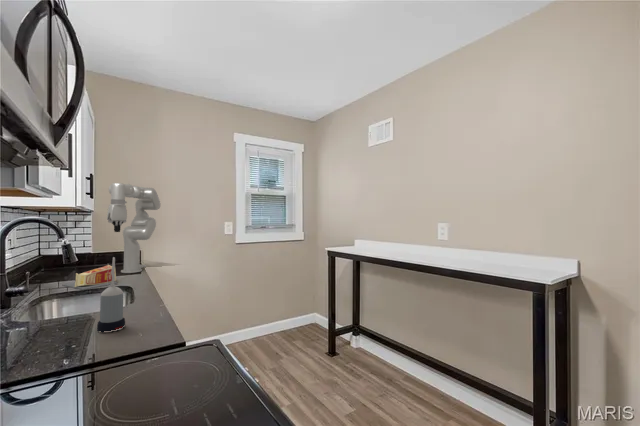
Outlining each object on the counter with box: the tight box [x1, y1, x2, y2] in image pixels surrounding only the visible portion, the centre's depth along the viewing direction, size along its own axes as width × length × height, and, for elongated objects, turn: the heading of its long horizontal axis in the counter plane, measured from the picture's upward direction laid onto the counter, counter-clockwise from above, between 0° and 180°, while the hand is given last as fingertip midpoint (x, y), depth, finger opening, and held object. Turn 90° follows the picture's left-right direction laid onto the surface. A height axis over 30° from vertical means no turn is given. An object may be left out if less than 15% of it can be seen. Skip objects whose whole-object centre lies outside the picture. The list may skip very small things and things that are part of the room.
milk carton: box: [74, 264, 117, 287], centre depth 175 cm, size 9×9×20 cm
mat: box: [62, 281, 118, 291], centre depth 177 cm, size 18×20×1 cm
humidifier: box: [96, 256, 126, 332], centre depth 110 cm, size 8×8×25 cm
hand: (117, 231), depth 197 cm, fingers closed
